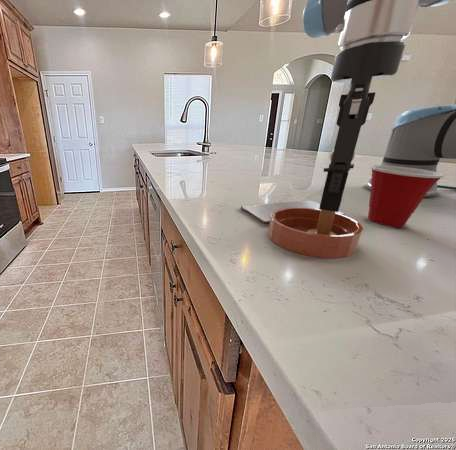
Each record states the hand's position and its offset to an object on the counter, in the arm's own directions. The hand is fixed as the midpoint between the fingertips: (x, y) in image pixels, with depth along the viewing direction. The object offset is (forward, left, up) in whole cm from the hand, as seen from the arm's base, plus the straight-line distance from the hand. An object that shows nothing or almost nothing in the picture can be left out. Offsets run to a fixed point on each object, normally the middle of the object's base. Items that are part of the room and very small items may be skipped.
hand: (329, 207), depth 43 cm
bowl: (+1, -1, -7) cm, 7 cm away
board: (-5, -15, -7) cm, 17 cm away
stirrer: (0, 0, -6) cm, 6 cm away
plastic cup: (-21, -5, -7) cm, 22 cm away
